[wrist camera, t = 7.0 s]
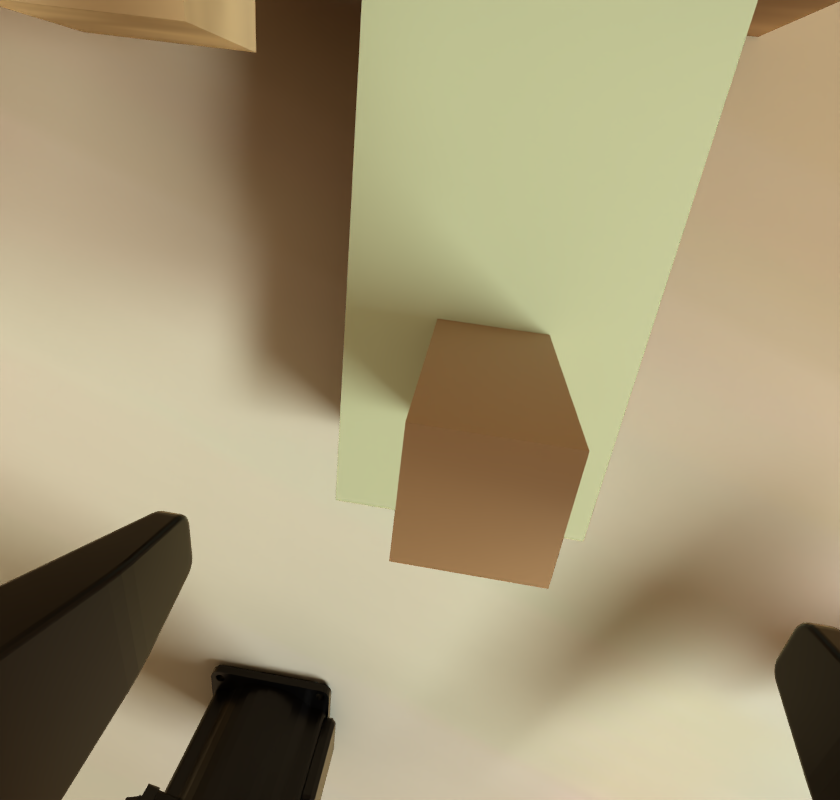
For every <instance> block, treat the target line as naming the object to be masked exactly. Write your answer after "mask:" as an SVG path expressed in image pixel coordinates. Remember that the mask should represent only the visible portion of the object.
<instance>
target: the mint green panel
mask: <svg viewBox="0 0 840 800" xmlns="http://www.w3.org/2000/svg"><path fill="white" fill-rule="evenodd" d="M757 2H758V0H362V7H361V26H360V45H359V64H358V83H357V102H356V121H355V140H354V159H353V178H352V197H351V216H350V235H349V254H348V273H347V292H346V311H345V330H344V349H343V368H342V387H341V406H340V425H339V444H338V463H337V482H336V500H339V501H345V502H351V503H357V504H363V505H368V506H374V507H380V508H386V509H392V510H395V516H394V525H393V533H392V542H391V551H390V559H389V561H391V562H397V563H403V564H409V565H414V566H420V567H426V568H432V569H438V570H443V571H449V572H455V573H461V574H466V575H472V576H478V577H484V578H489V579H495V580H501V581H507V582H513V583H518V584H524V585H530V586H536V587H541V588H547V589H548V588H549V585H550V581H551V578H552V575H553V571H554V568H555V565H556V561H557V558H558V555H559V551H560V548H561V545H562V541H563V538H565V539H571V540H577V541H584V538H585V534H586V531H587V528H588V525H589V522H590V519H591V516H592V513H593V510H594V507H595V503H596V500H597V497H598V494H599V491H600V488H601V485H602V482H603V479H604V476H605V473H606V469H607V466H608V463H609V460H610V457H611V454H612V451H613V448H614V445H615V442H616V438H617V435H618V432H619V429H620V426H621V423H622V420H623V417H624V414H625V411H626V407H627V404H628V401H629V398H630V395H631V392H632V389H633V386H634V383H635V380H636V376H637V373H638V370H639V367H640V364H641V361H642V358H643V355H644V352H645V349H646V346H647V342H648V339H649V336H650V333H651V330H652V327H653V324H654V321H655V318H656V315H657V311H658V308H659V305H660V302H661V299H662V296H663V293H664V290H665V287H666V284H667V280H668V277H669V274H670V271H671V268H672V265H673V262H674V259H675V256H676V253H677V250H678V246H679V243H680V240H681V237H682V234H683V231H684V228H685V225H686V222H687V219H688V215H689V212H690V209H691V206H692V203H693V200H694V197H695V194H696V191H697V188H698V184H699V181H700V178H701V175H702V172H703V169H704V166H705V163H706V160H707V157H708V153H709V150H710V147H711V144H712V141H713V138H714V135H715V132H716V129H717V126H718V123H719V119H720V116H721V113H722V110H723V107H724V104H725V101H726V98H727V95H728V92H729V88H730V85H731V82H732V79H733V76H734V73H735V70H736V67H737V64H738V61H739V57H740V54H741V51H742V48H743V45H744V42H745V39H746V36H747V33H748V30H749V27H750V23H751V20H752V17H753V14H754V11H755V8H756V5H757Z"/></svg>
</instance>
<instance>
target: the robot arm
mask: <svg viewBox="0 0 840 800" xmlns="http://www.w3.org/2000/svg"><path fill="white" fill-rule="evenodd" d="M191 565H192V549H191V539H190V529H189V522H188V519H187V518H186V516H184V515H182V514H177V513H171V512H165V511H157V512H154V513H152V514H150V515H147V516H145V517H143V518H141V519H139V520H137V521H135V522H133V523H131V524H129V525H127V526H124V527H122V528H120V529H118V530H116V531H114V532H112V533H110V534H108V535H106V536H103V537H101V538H99V539H97V540H95V541H93V542H91V543H89V544H87V545H85V546H82V547H80V548H78V549H76V550H74V551H72V552H70V553H68V554H66V555H64V556H61V557H59V558H57V559H55V560H53V561H51V562H49V563H47V564H45V565H43V566H40V567H38V568H36V569H34V570H32V571H30V572H28V573H26V574H24V575H22V576H20V577H17V578H15V579H13V580H11V581H9V582H7V583H5V584H3V585H1V586H0V800H62V798H63V796H64V795H65V793H66V792H67V790H68V788H69V787H70V785H71V784H72V782H73V780H74V779H75V777H76V776H77V774H78V772H79V771H80V769H81V767H82V766H83V764H84V763H85V761H86V759H87V758H88V756H89V755H90V753H91V751H92V750H93V748H94V746H95V745H96V743H97V742H98V740H99V738H100V737H101V735H102V734H103V732H104V730H105V729H106V727H107V725H108V724H109V722H110V721H111V719H112V717H113V716H114V714H115V713H116V711H117V709H118V708H119V706H120V704H121V703H122V701H123V700H124V698H125V696H126V695H127V693H128V692H129V690H130V688H131V687H132V685H133V683H134V681H135V680H136V678H137V676H138V675H139V673H140V671H141V669H142V667H143V665H144V663H145V661H146V660H147V658H148V656H149V654H150V652H151V650H152V648H153V646H154V644H155V641H156V639H157V637H158V635H159V633H160V631H161V629H162V627H163V625H164V623H165V621H166V619H167V617H168V615H169V613H170V611H171V609H172V607H173V605H174V603H175V601H176V599H177V597H178V595H179V593H180V591H181V589H182V586H183V584H184V582H185V580H186V578H187V576H188V574H189V572H190V569H191ZM211 678H212V689H213V698H212V700H211V702H210V704H209V706H208V708H207V710H206V711H205V713H204V715H203V717H202V719H201V721H200V723H199V725H198V727H197V729H196V731H195V733H194V735H193V737H192V739H191V741H190V743H189V745H188V747H187V749H186V751H185V753H184V755H183V757H182V759H181V761H180V763H179V765H178V767H177V769H176V771H175V773H174V775H173V777H172V779H171V780H170V782H169V784H168V786H167V788H166V790H165V792H162V791H160V790H159V789H160V788H159V787H157V786H154V785H151V784H148V786H147V788H146V790H145V791H144V793H143V795H142V796H141V795H139V796H137V797H127V798H126V799H125V800H321V796H322V792H323V788H324V784H325V781H326V777H327V773H328V769H329V765H330V761H331V757H332V754H333V750H334V737H335V721H334V720H333V718H330V702H331V689H330V688H329V687H328V686H326V685H324V684H319V683H314V682H309V681H303V680H298V679H293V678H288V677H282V676H277V675H272V674H266V673H261V672H256V671H250V670H245V669H240V668H234V667H229V666H224V665H219V666H217V667H215V669H214V671H213V673H212V676H211ZM775 679H776V683H777V686H778V690H779V693H780V696H781V700H782V703H783V706H784V709H785V713H786V716H787V719H788V723H789V726H790V729H791V733H792V736H793V739H794V742H795V746H796V749H797V752H798V756H799V759H800V762H801V765H802V769H803V772H804V775H805V779H806V782H807V785H808V788H809V791H810V794H811V797H812V800H840V630H839V629H837V628H835V627H831V626H826V625H820V624H814V623H802V624H801V625H799V626H797V628H796V629H795V630H794V632H793V634H792V635H791V637H790V639H789V640H788V642H787V644H786V645H785V647H784V648H783V650H782V652H781V653H780V655H779V657H778V658H777V660H776V664H775Z"/></svg>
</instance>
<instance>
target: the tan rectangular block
mask: <svg viewBox="0 0 840 800" xmlns="http://www.w3.org/2000/svg"><path fill="white" fill-rule="evenodd" d="M0 7H3V8H7V9H10V10H13V11H16V12H20V13H23V14H26V15H30V16H33V17H36V18H40V19H43V20H46V21H49V22H53V23H56V24H59V25H63V26H66V27H69V28H72V29H76V30H79V31H82V32H87V33H96V34H104V35H113V36H121V37H130V38H138V39H146V40H155V41H163V42H172V43H180V44H189V45H197V46H205V47H214V48H222V49H231V50H239V51H248V52H256V17H255V0H0Z"/></svg>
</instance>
